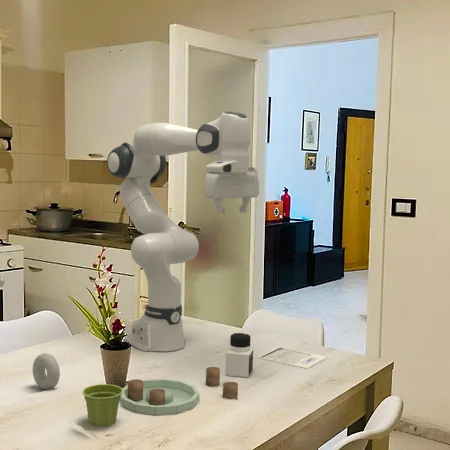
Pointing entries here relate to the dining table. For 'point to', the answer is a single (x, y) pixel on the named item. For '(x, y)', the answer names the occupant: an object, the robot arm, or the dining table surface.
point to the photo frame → (303, 363)
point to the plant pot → (102, 404)
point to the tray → (176, 406)
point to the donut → (40, 375)
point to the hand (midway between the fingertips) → (232, 213)
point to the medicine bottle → (239, 356)
